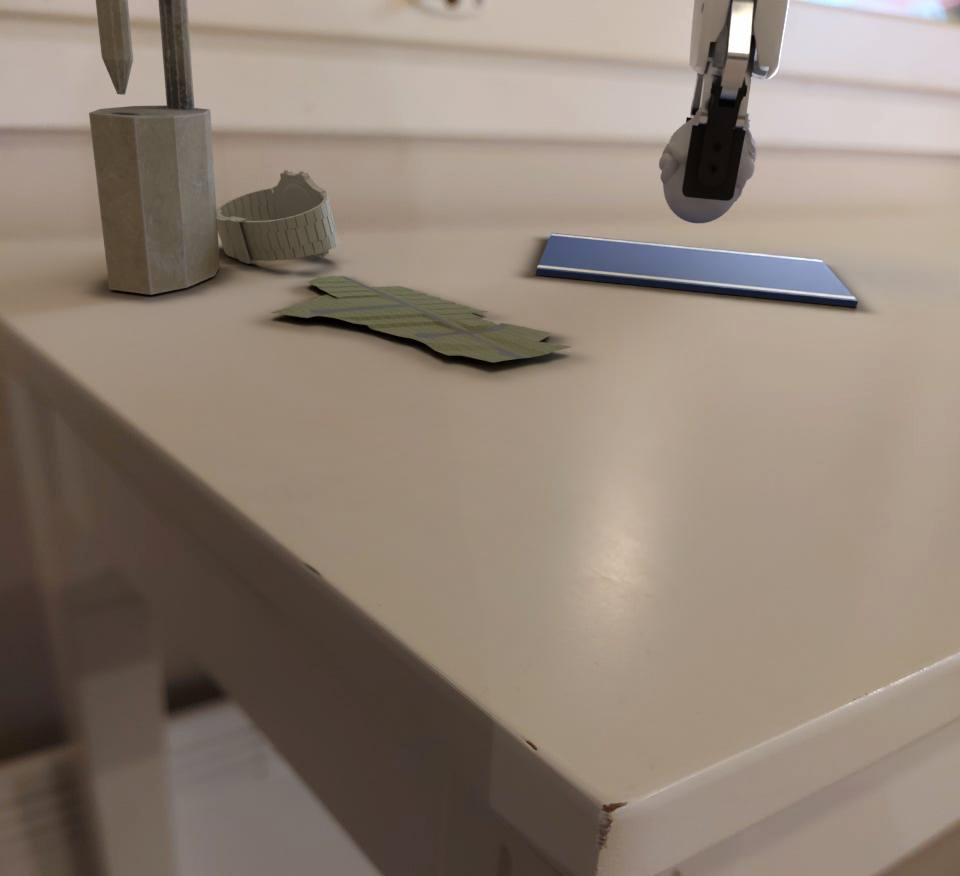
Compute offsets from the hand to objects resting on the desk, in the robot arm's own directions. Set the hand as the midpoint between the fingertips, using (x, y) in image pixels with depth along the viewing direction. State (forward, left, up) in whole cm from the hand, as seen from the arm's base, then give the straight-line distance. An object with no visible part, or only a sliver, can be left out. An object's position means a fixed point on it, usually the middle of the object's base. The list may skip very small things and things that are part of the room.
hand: (703, 188), depth 66 cm
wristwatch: (+26, +10, -5) cm, 28 cm away
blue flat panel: (0, 0, -5) cm, 5 cm away
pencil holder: (+30, +18, -5) cm, 35 cm away
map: (+16, +22, -5) cm, 28 cm away
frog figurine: (0, 0, -2) cm, 2 cm away
